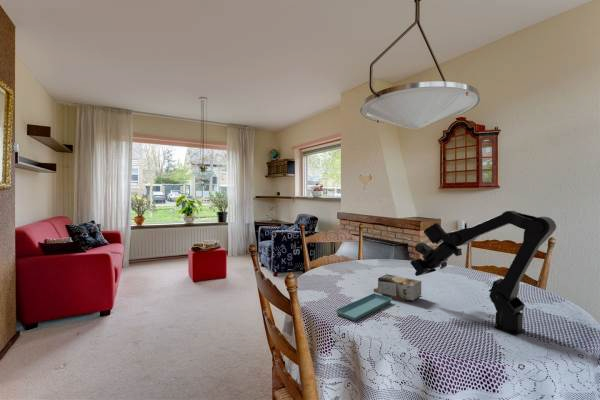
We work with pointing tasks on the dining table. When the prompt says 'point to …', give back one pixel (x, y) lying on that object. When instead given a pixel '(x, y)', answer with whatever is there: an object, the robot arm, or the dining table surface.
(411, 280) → the coffee box
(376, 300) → the rectangular tray
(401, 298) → the walnut board
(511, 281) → the robot arm
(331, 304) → the dining table surface
